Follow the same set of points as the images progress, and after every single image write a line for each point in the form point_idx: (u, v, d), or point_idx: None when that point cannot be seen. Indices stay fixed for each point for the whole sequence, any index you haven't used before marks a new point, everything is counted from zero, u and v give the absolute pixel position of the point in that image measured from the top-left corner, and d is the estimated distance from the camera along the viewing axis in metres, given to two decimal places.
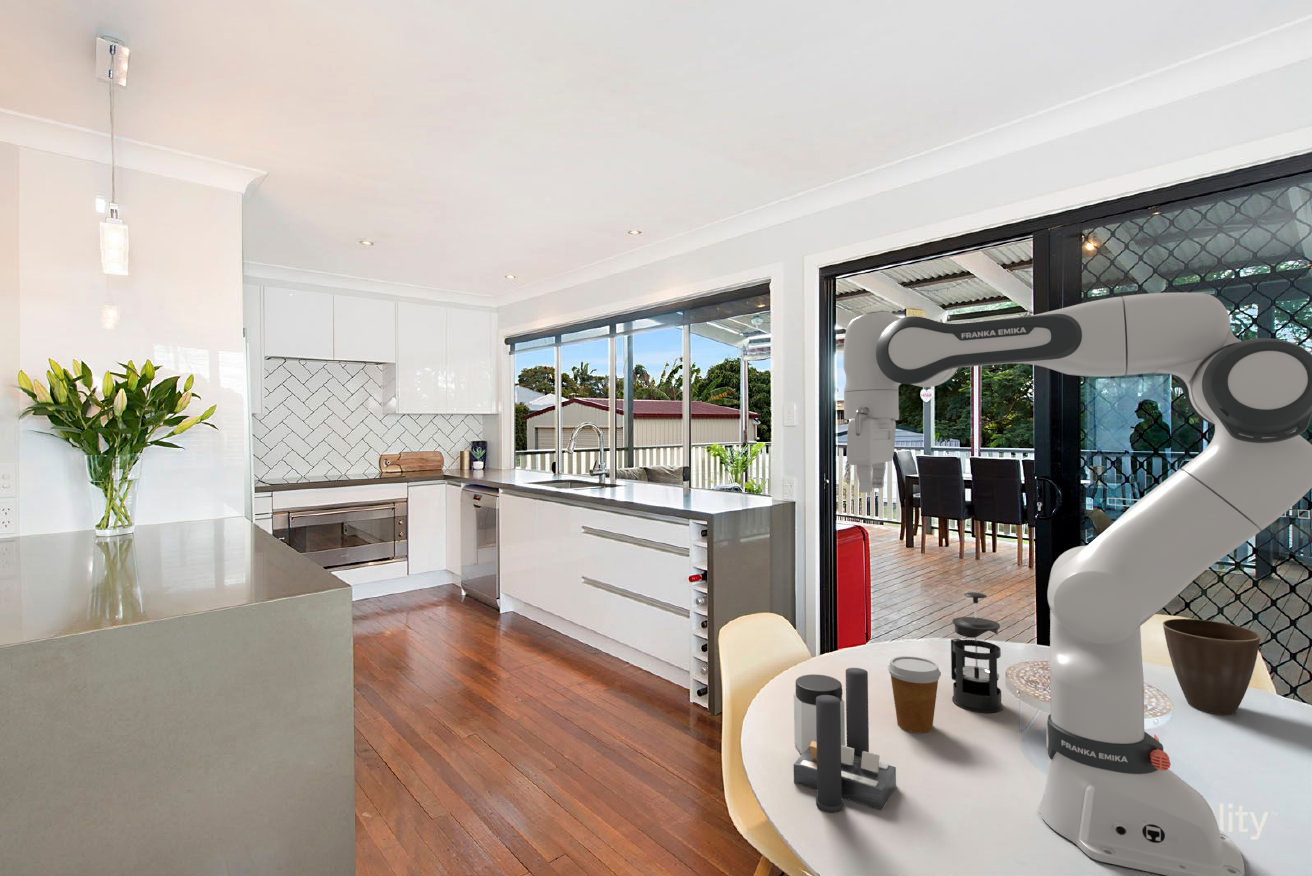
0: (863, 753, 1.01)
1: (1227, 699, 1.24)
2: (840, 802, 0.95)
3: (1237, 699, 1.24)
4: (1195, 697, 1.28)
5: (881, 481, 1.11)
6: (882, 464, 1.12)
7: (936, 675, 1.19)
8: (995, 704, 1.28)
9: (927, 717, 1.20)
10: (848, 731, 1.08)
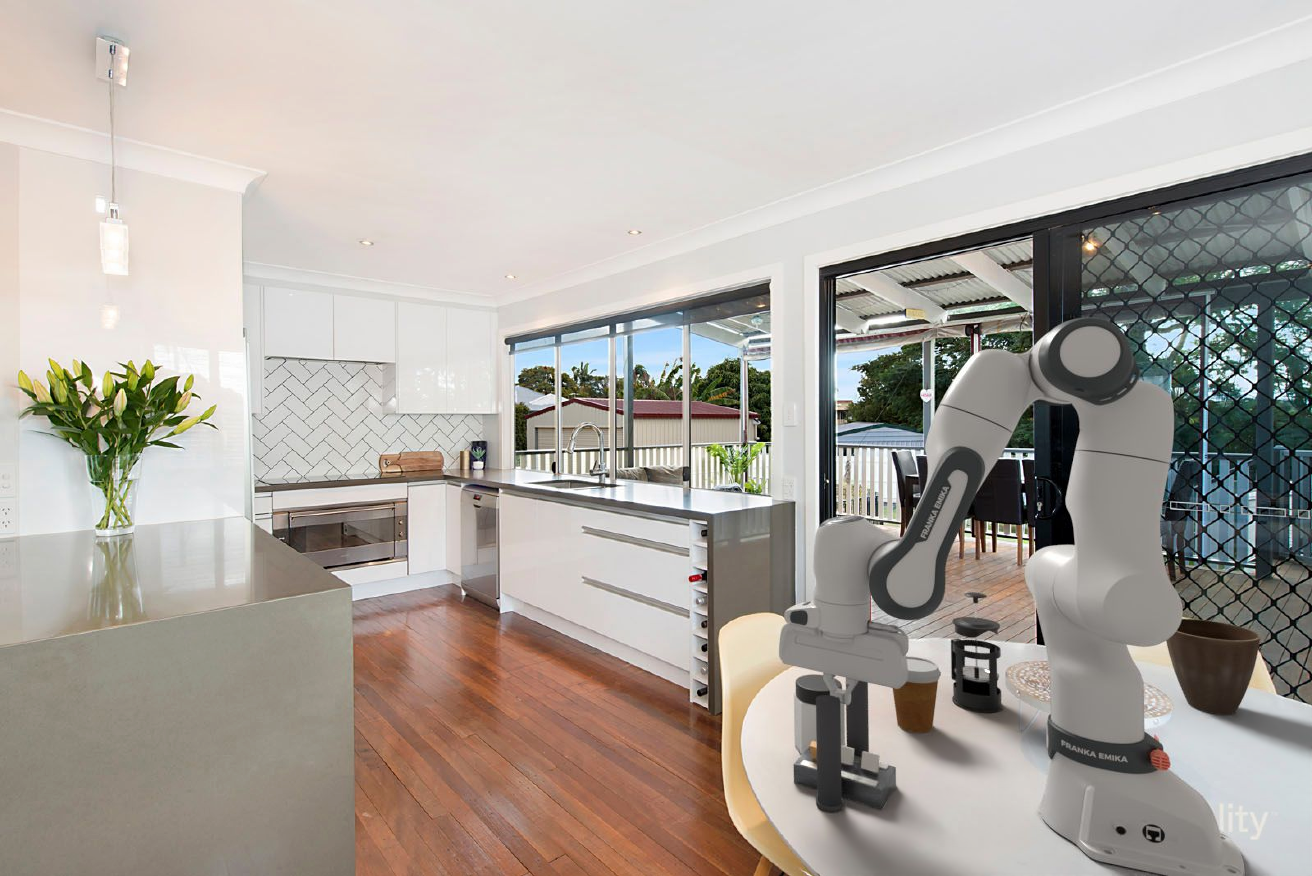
0: (863, 753, 1.01)
1: (1227, 699, 1.24)
2: (840, 802, 0.95)
3: (1237, 699, 1.24)
4: (1195, 697, 1.28)
5: None
6: None
7: (936, 675, 1.19)
8: (995, 704, 1.28)
9: (927, 717, 1.20)
10: (848, 731, 1.08)
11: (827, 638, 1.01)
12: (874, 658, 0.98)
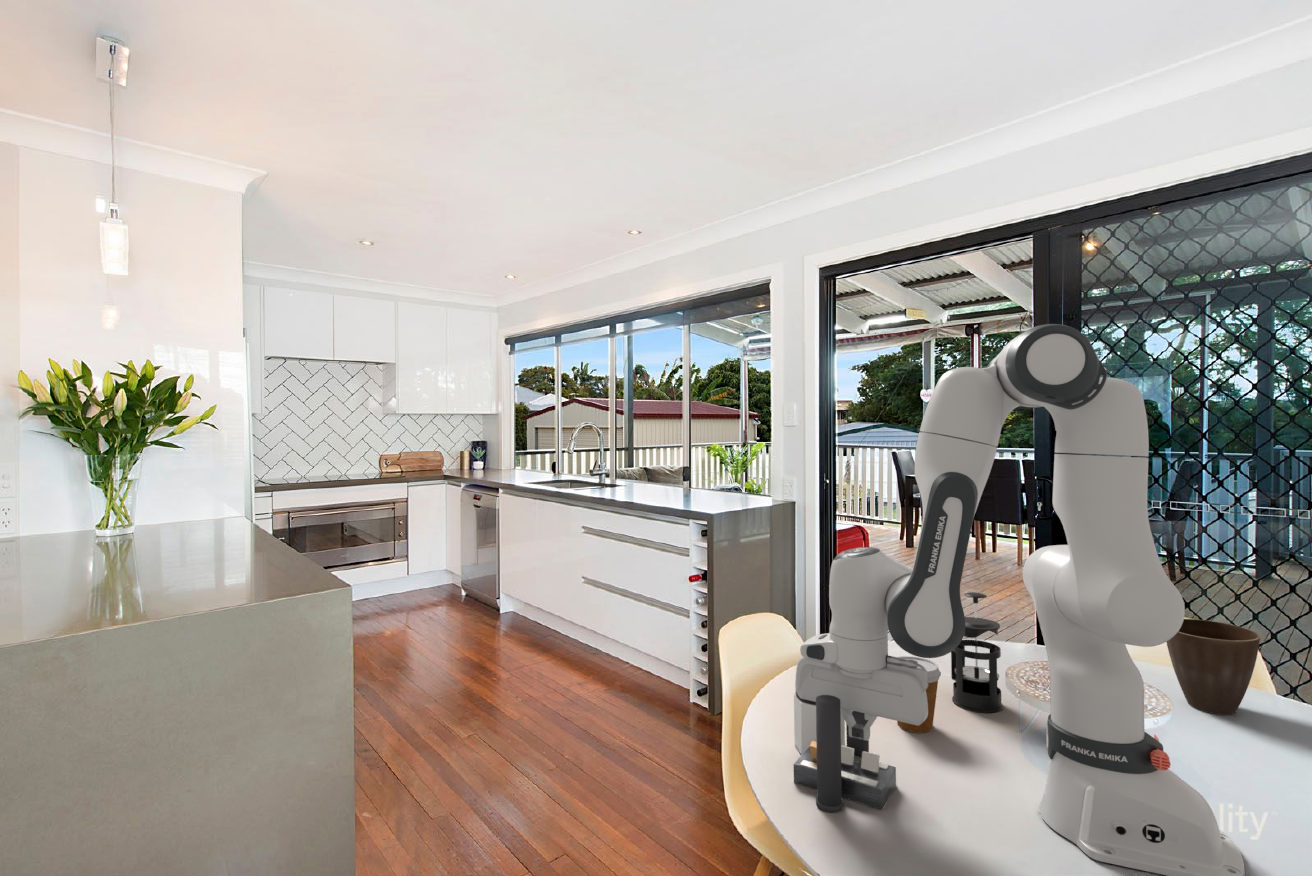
0: (863, 753, 1.01)
1: (1227, 699, 1.24)
2: (840, 802, 0.95)
3: (1237, 699, 1.24)
4: (1195, 697, 1.28)
5: None
6: None
7: (936, 675, 1.19)
8: (995, 704, 1.28)
9: (927, 717, 1.20)
10: (848, 731, 1.08)
11: (845, 673, 0.99)
12: (894, 694, 0.96)
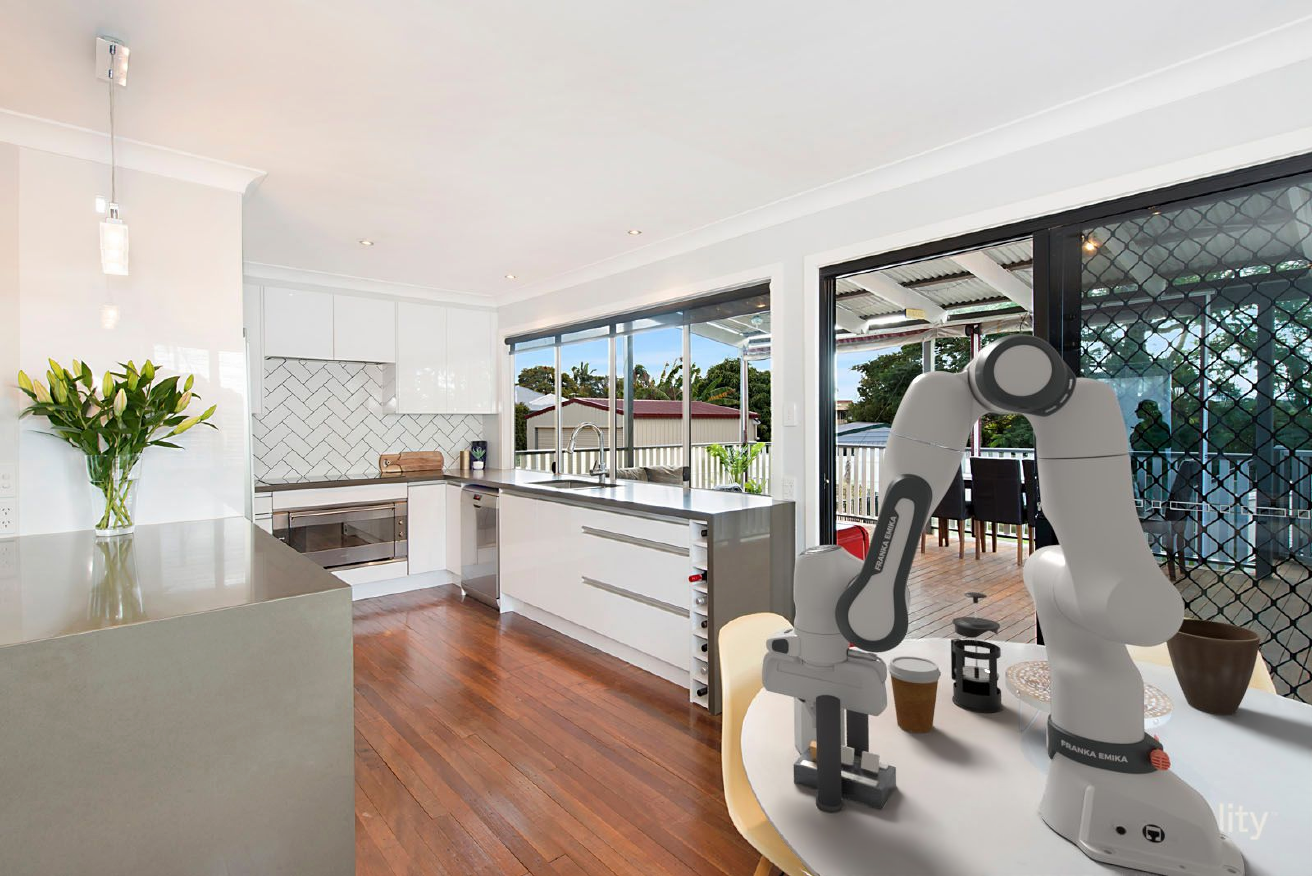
0: (863, 753, 1.01)
1: (1227, 699, 1.24)
2: (840, 802, 0.95)
3: (1237, 699, 1.24)
4: (1195, 697, 1.28)
5: None
6: None
7: (936, 675, 1.19)
8: (995, 704, 1.28)
9: (927, 717, 1.20)
10: (848, 731, 1.08)
11: (808, 666, 1.03)
12: (854, 686, 1.00)
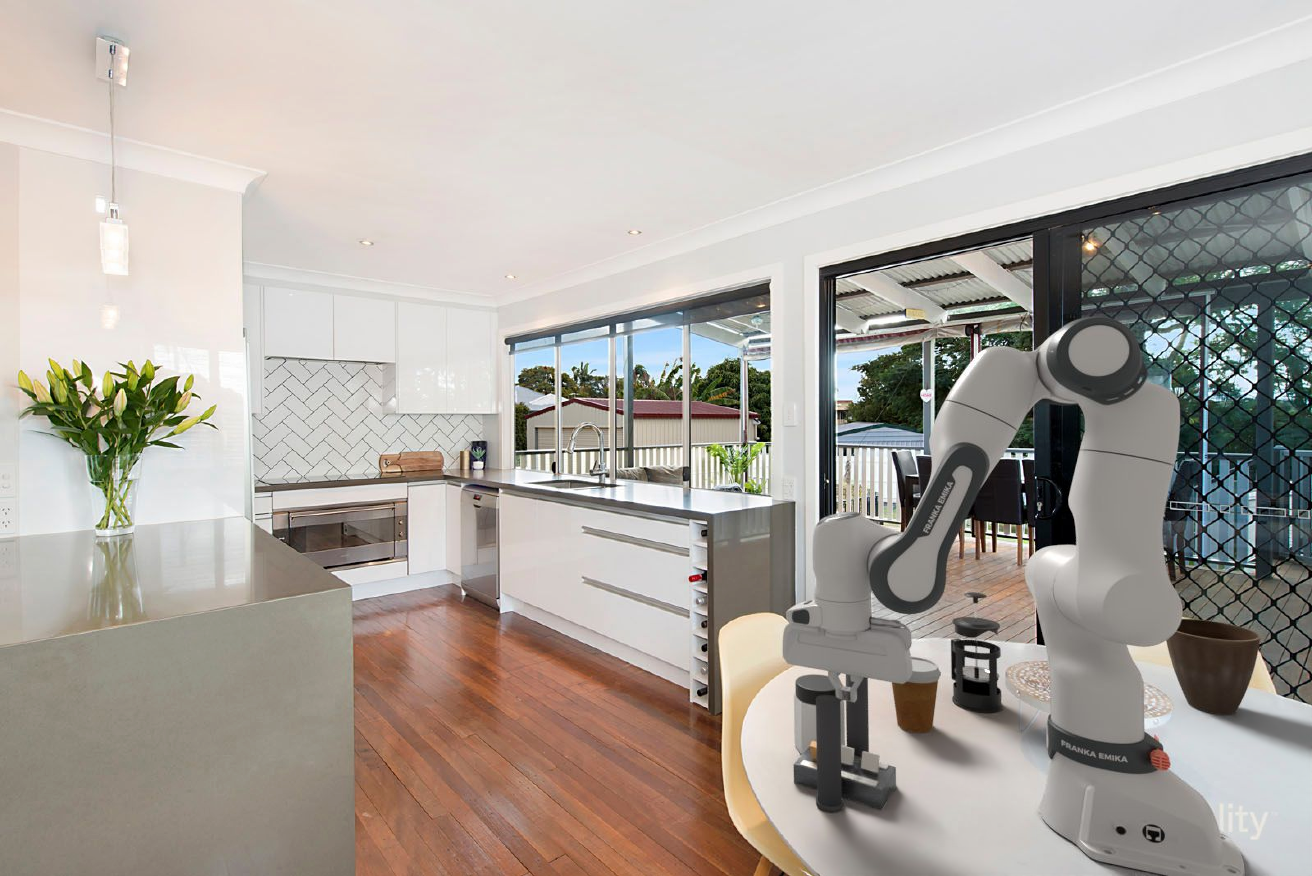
0: (863, 753, 1.01)
1: (1227, 699, 1.24)
2: (840, 802, 0.95)
3: (1237, 699, 1.24)
4: (1195, 697, 1.28)
5: None
6: None
7: (936, 675, 1.19)
8: (995, 704, 1.28)
9: (927, 717, 1.20)
10: (848, 731, 1.08)
11: (830, 636, 1.01)
12: (878, 654, 0.98)
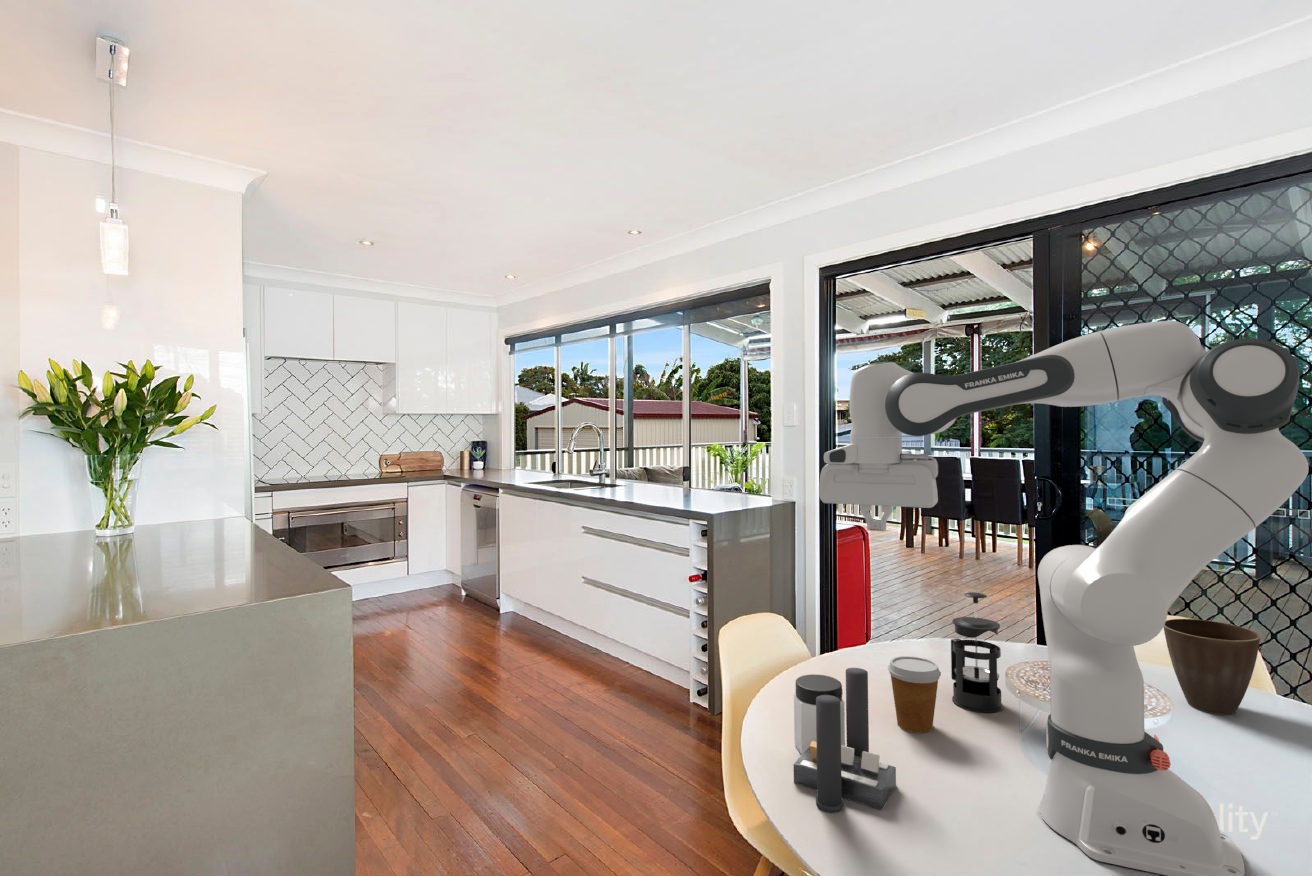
0: (863, 753, 1.01)
1: (1227, 699, 1.24)
2: (840, 802, 0.95)
3: (1237, 699, 1.24)
4: (1195, 697, 1.28)
5: None
6: (870, 506, 1.15)
7: (936, 675, 1.19)
8: (995, 704, 1.28)
9: (927, 717, 1.20)
10: (848, 731, 1.08)
11: (864, 471, 1.12)
12: (907, 484, 1.09)
